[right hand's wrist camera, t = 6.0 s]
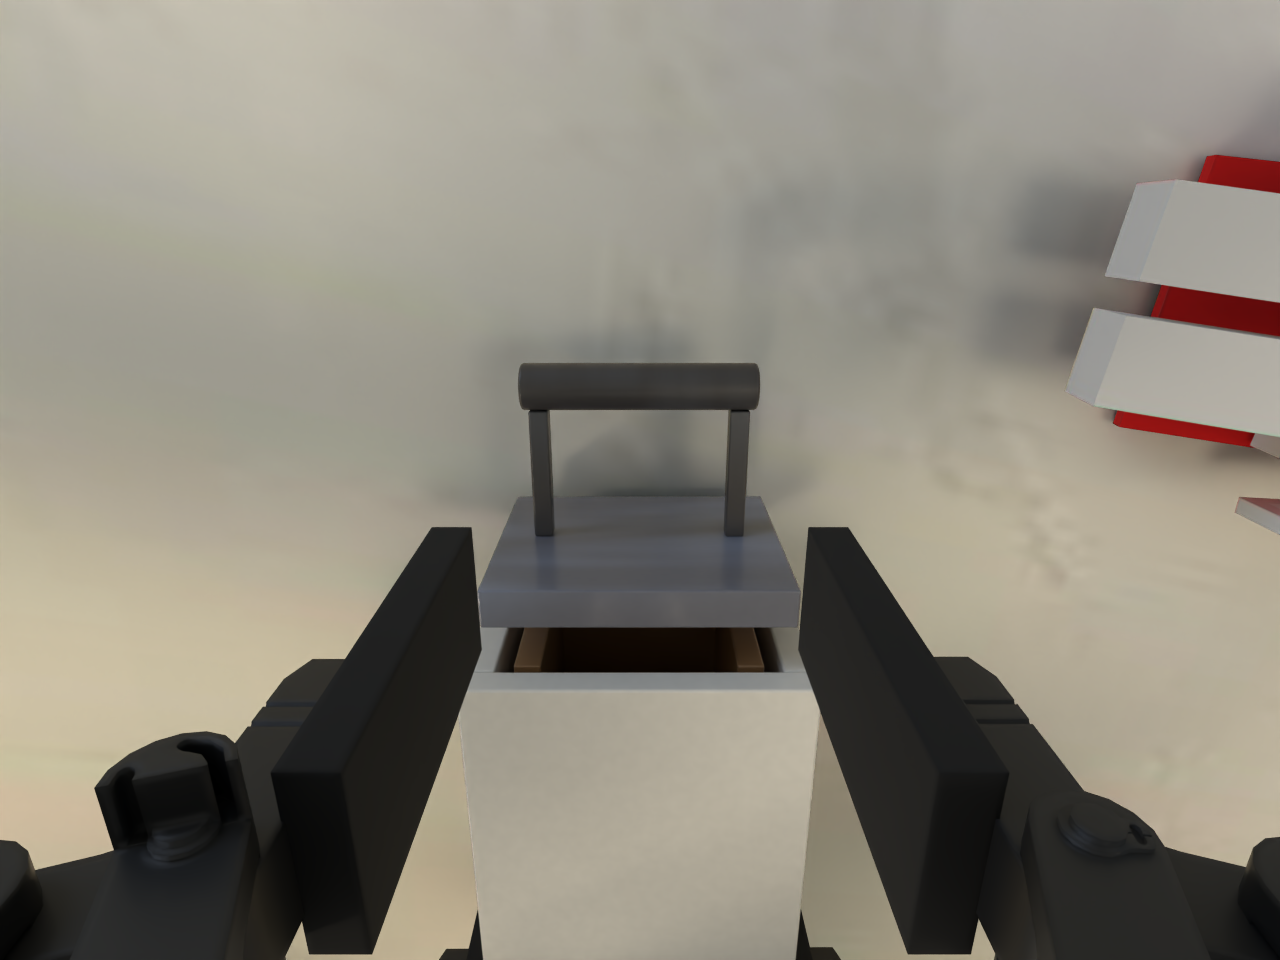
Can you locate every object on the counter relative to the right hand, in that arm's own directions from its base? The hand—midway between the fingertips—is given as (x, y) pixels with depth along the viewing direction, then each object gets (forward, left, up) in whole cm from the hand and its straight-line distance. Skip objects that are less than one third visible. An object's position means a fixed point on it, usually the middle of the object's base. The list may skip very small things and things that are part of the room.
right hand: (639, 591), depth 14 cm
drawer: (-4, -7, -13) cm, 15 cm away
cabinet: (-7, -12, -14) cm, 20 cm away
